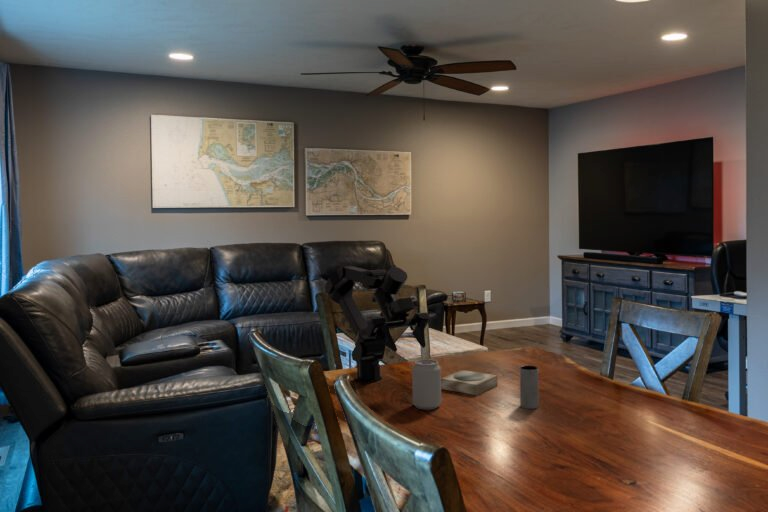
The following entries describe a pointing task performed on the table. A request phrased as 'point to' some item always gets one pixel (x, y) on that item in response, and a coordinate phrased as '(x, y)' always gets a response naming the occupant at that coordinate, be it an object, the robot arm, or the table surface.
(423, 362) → the can
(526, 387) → the grey cylinder
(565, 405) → the table surface
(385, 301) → the robot arm
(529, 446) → the table surface
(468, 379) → the pedestal
